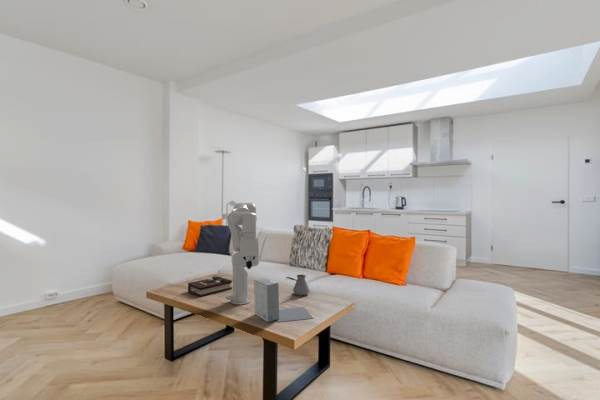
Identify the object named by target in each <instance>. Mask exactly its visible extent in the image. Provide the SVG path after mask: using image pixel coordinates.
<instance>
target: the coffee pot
mask: <svg viewBox="0 0 600 400" xmlns="http://www.w3.org/2000/svg"><path fill="white" fill-rule="evenodd" d="M296 277H297V278H293V277H290V276H286V277H285V280H287V281H288V280H292V281H295V283H294V286H293V289H292V291H293V293H294V294H295V296H298V295H300V296H299V297H302V296H301V295H304V296H307V295H308V294H309V293H310V288H309V286H308V283H307V281H306V275H305V274H297V275H296Z"/></svg>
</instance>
